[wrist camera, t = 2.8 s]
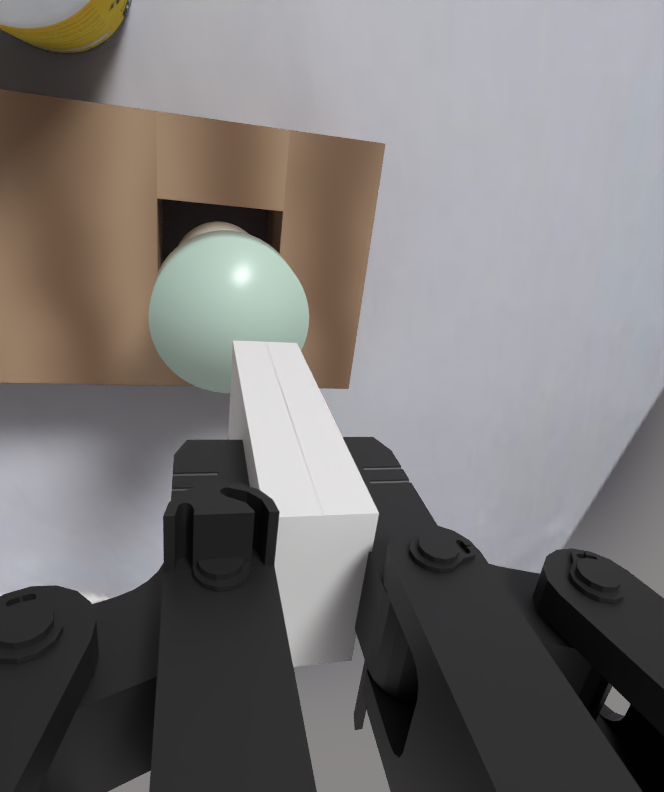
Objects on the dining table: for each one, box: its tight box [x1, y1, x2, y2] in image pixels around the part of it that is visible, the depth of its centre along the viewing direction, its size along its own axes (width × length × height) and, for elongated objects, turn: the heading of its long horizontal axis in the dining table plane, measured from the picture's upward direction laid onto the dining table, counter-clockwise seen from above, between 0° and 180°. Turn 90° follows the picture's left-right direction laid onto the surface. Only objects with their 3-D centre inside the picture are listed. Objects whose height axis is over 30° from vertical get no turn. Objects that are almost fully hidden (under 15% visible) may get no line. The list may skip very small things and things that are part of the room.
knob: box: [148, 221, 309, 393], centre depth 21 cm, size 5×5×8 cm
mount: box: [0, 89, 385, 389], centre depth 25 cm, size 28×12×5 cm, turn 83°
